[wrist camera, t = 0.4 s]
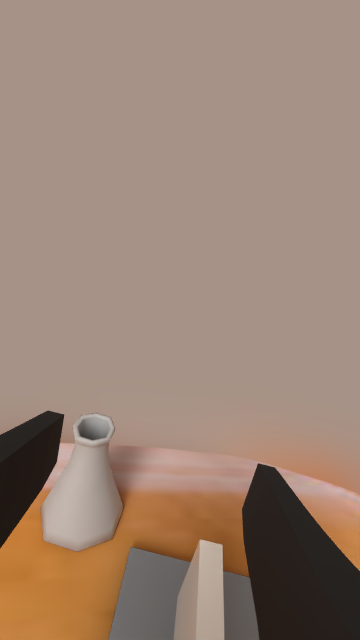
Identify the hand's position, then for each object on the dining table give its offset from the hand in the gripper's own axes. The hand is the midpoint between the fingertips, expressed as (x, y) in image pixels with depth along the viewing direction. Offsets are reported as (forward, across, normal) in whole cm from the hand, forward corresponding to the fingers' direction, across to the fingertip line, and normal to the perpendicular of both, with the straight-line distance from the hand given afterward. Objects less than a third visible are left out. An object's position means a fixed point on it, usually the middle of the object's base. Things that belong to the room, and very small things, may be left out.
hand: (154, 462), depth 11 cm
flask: (+13, +5, +18) cm, 22 cm away
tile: (+5, -5, +18) cm, 19 cm away
